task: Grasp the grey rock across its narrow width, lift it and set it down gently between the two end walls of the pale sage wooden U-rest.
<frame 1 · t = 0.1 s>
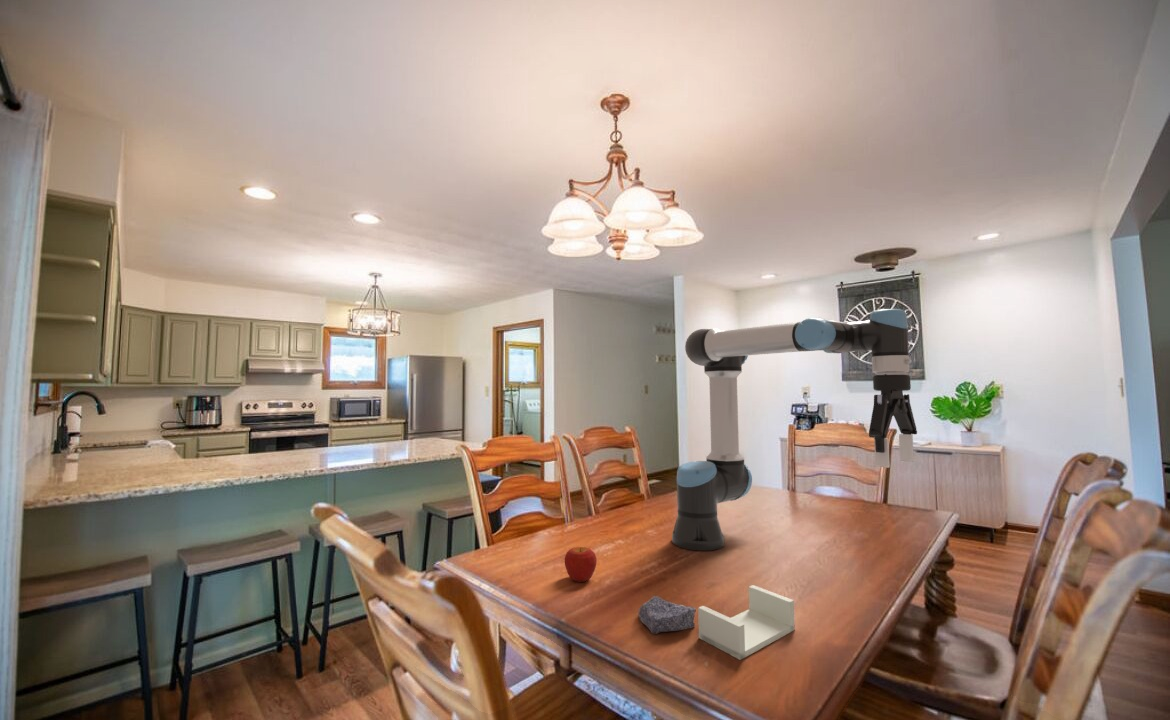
hand: (895, 464, 113), 28 cm above the table, fingers open, 13 cm apart
rock: (661, 625, 95), on the table
u rest: (747, 633, 90), on the table
apple: (580, 580, 116), on the table
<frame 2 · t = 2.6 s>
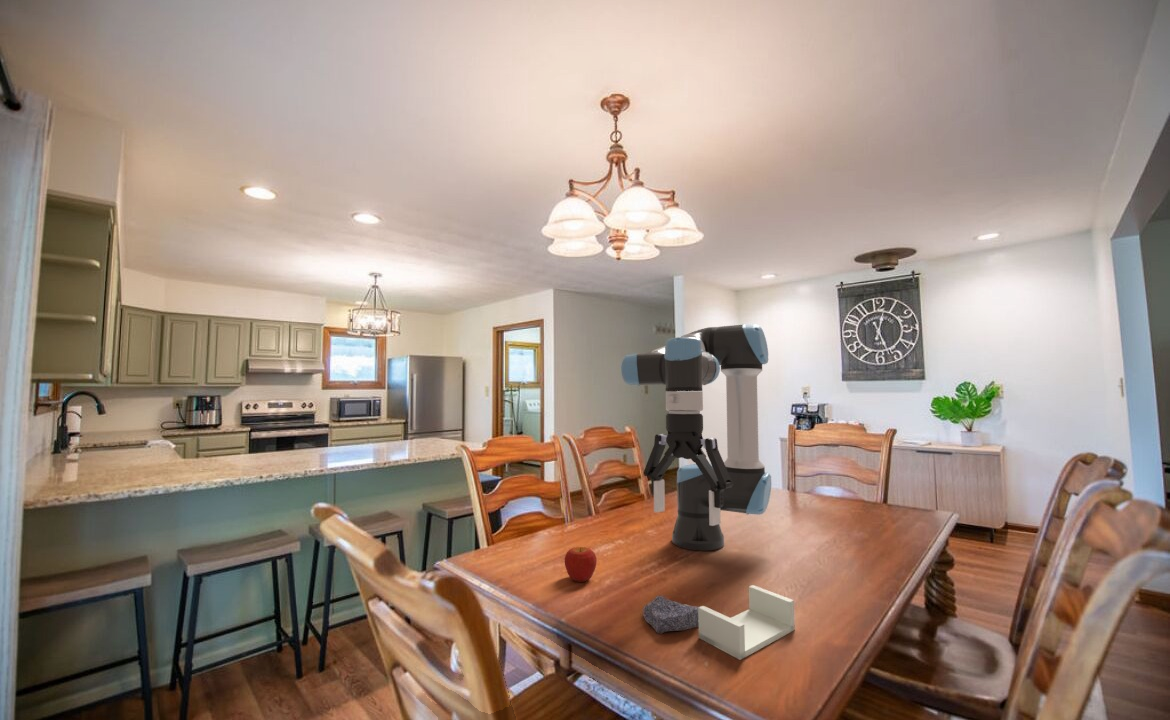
hand: (685, 517, 97), 20 cm above the table, fingers open, 13 cm apart
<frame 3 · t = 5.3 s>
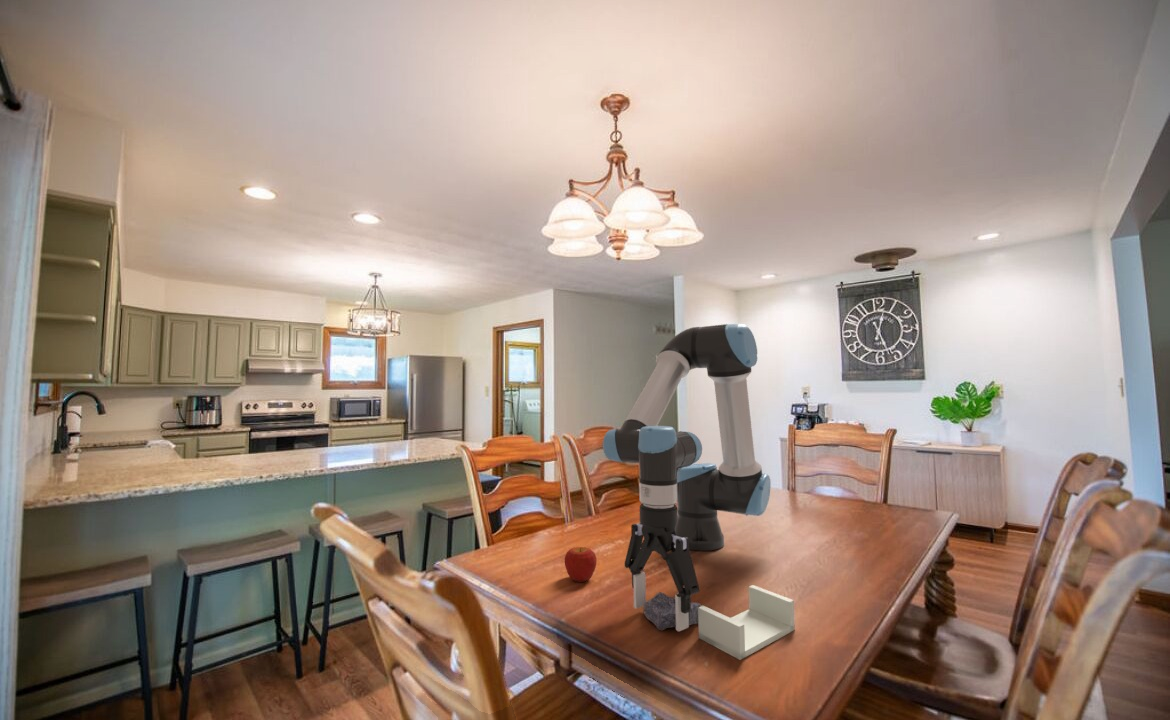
hand: (660, 617, 94), 1 cm above the table, fingers closed on rock, 11 cm apart
rock: (666, 621, 96), on the table, touching gripper
everything else where it was.
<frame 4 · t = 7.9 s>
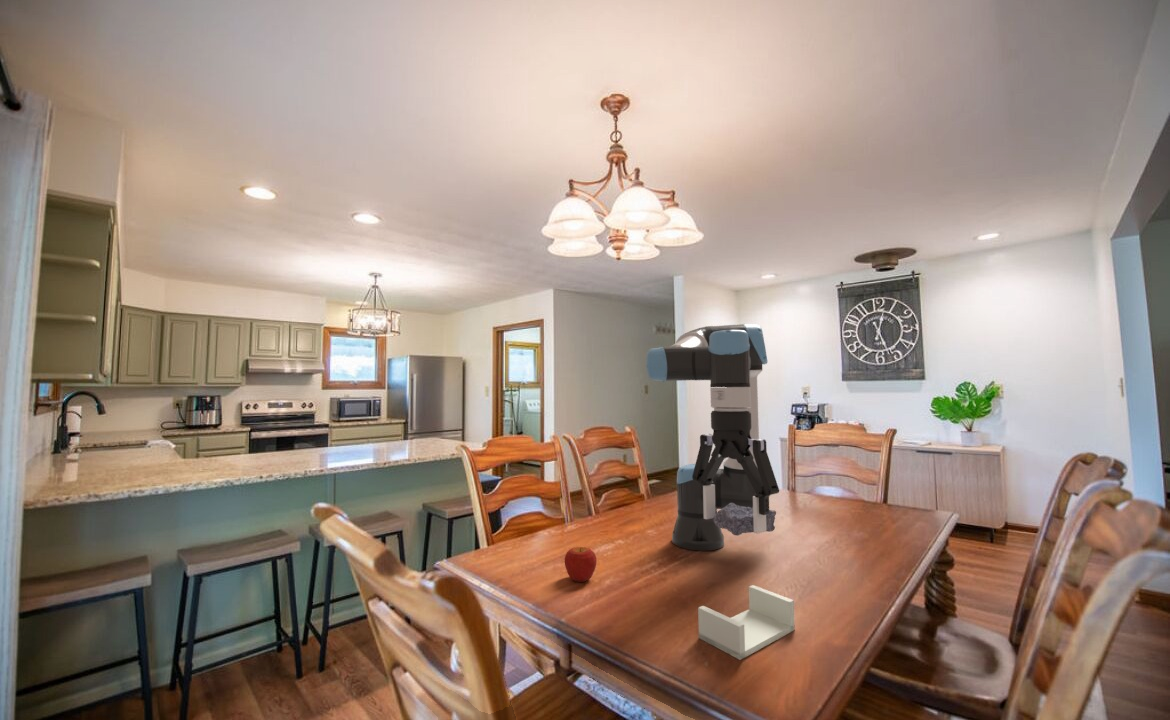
hand: (733, 524, 92), 20 cm above the table, fingers closed on rock, 11 cm apart
rock: (738, 530, 93), point 19 cm above the table, touching gripper
everything else where it was.
when the fingers open (4 cm above the table, at t = 10.6 s): rock drops 2 cm, resting on u rest.
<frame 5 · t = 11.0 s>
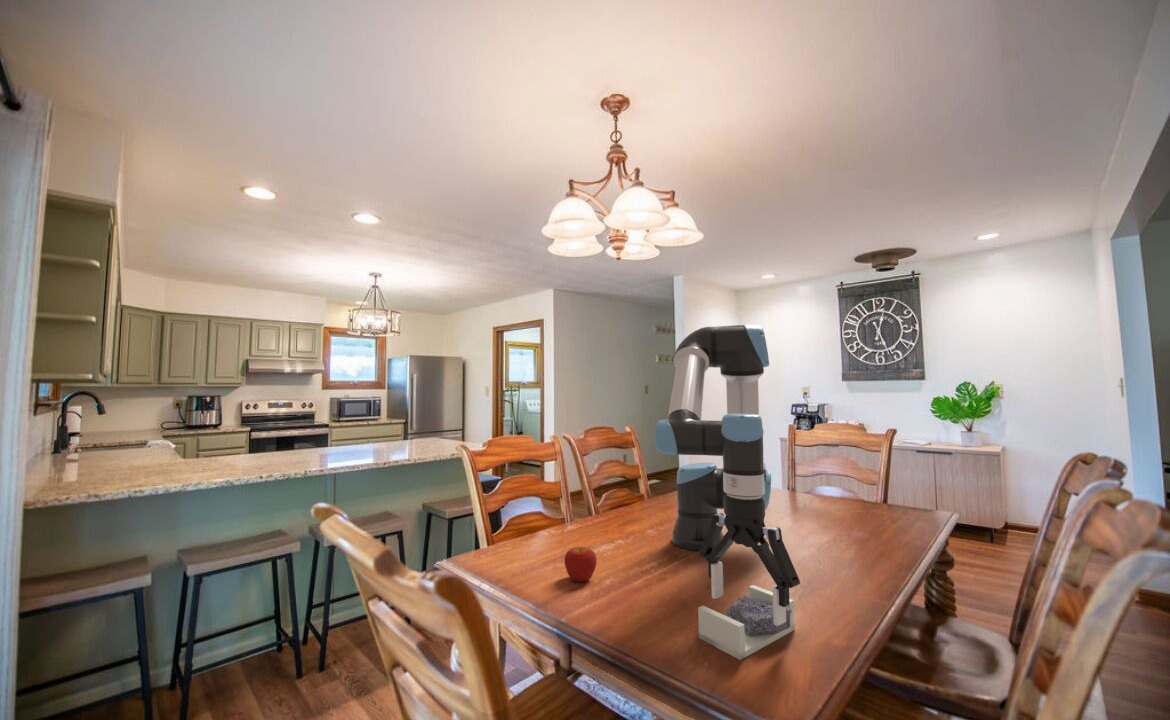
hand: (746, 609, 90), 5 cm above the table, fingers open, 13 cm apart
rock: (753, 626, 91), point 1 cm above the table, touching u rest
everything else where it was.
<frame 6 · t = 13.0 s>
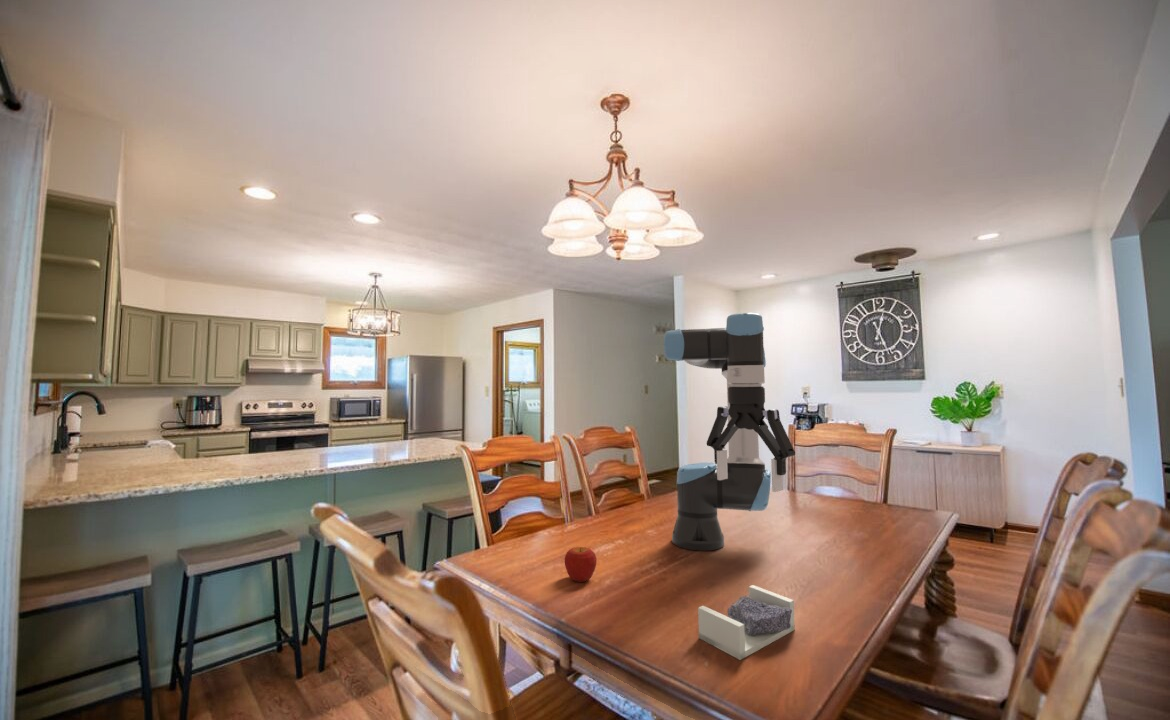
hand: (748, 484, 102), 26 cm above the table, fingers open, 13 cm apart
nothing on the table moved.
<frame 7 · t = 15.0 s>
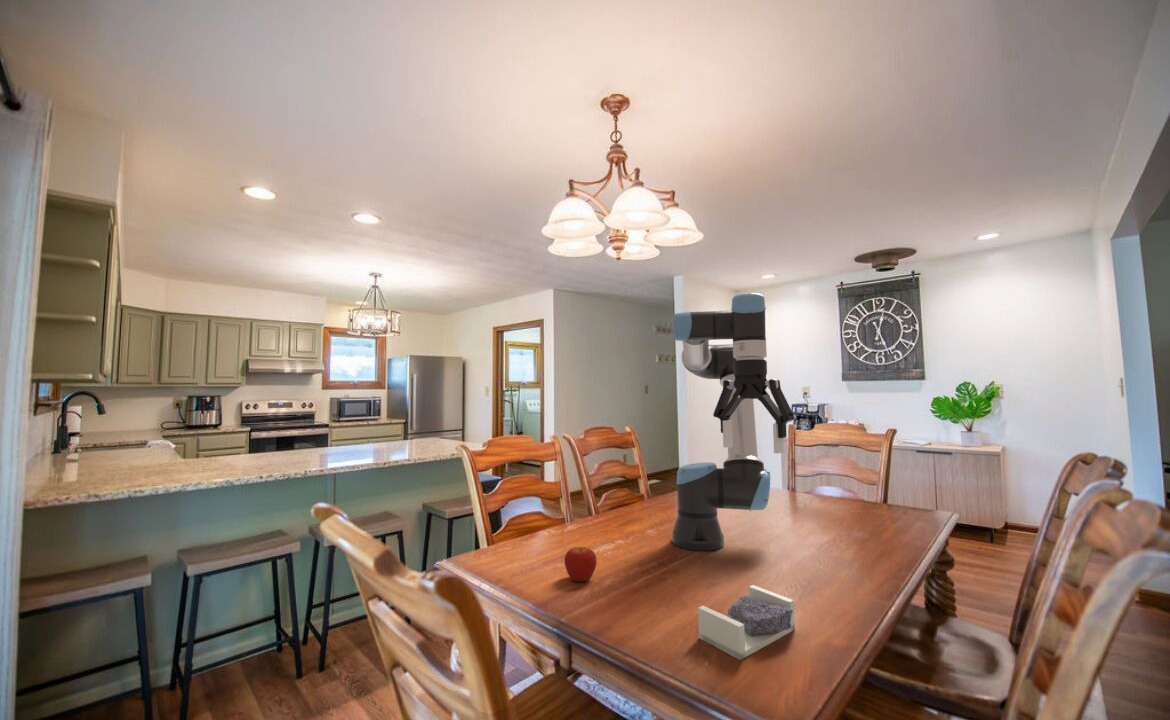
hand: (752, 450, 112), 32 cm above the table, fingers open, 13 cm apart
nothing on the table moved.
at the end: rock inside the target area on the u rest (2.1 cm from its centre), point 0.8 cm above the u rest's base; the gripper is holding nothing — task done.
